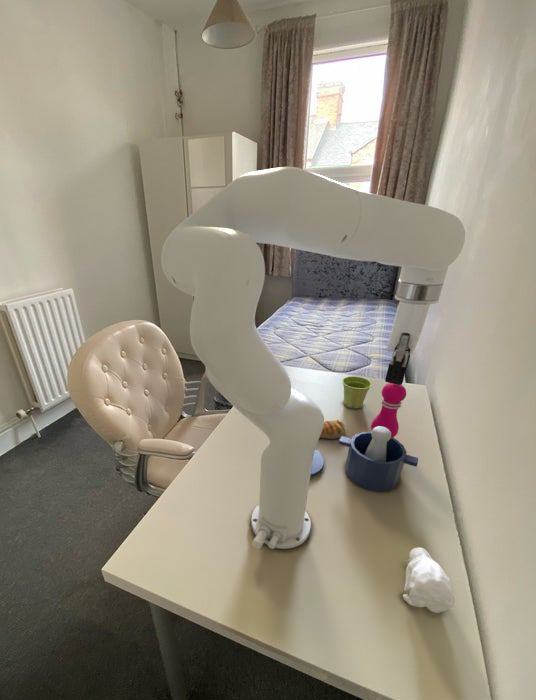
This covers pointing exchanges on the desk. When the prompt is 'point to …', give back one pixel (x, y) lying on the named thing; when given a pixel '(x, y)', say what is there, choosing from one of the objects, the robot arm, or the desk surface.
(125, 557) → the desk surface
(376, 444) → the salt shaker
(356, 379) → the plant pot
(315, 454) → the lid
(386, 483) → the pot
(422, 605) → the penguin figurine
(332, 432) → the pastry
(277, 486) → the robot arm
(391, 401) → the pepper mill
